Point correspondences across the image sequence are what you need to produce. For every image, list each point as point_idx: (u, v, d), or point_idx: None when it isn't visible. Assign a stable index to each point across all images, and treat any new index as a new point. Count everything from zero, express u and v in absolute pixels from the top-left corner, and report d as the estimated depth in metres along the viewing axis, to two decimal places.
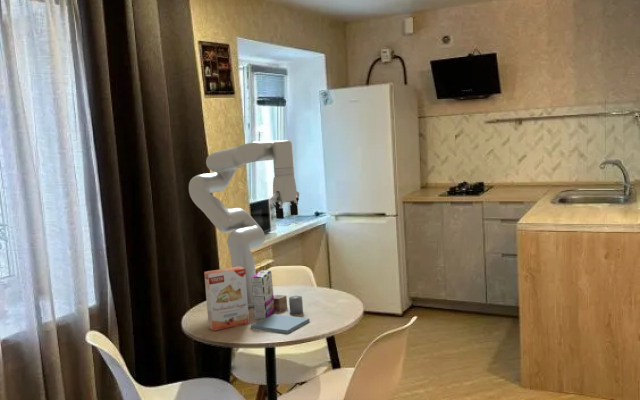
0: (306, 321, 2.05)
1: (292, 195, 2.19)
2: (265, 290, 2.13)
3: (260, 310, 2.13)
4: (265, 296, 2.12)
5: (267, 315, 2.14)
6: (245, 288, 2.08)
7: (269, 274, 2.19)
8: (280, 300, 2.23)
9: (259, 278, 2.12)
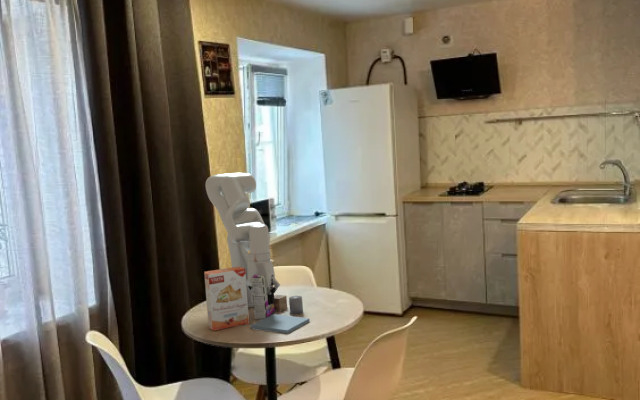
0: (306, 321, 2.05)
1: None
2: (265, 290, 2.13)
3: (260, 310, 2.13)
4: (265, 296, 2.12)
5: (267, 315, 2.14)
6: (245, 288, 2.08)
7: None
8: (280, 300, 2.23)
9: (259, 278, 2.12)
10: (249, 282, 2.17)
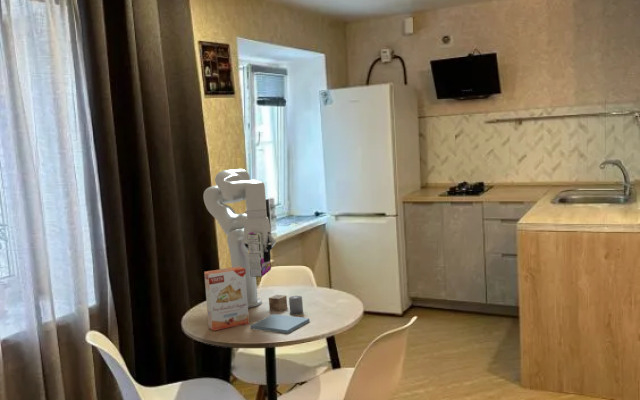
0: (306, 321, 2.05)
1: None
2: (261, 247, 2.12)
3: (255, 267, 2.12)
4: (260, 253, 2.11)
5: (263, 272, 2.13)
6: (245, 288, 2.08)
7: None
8: (280, 300, 2.23)
9: (255, 235, 2.10)
10: (245, 239, 2.16)
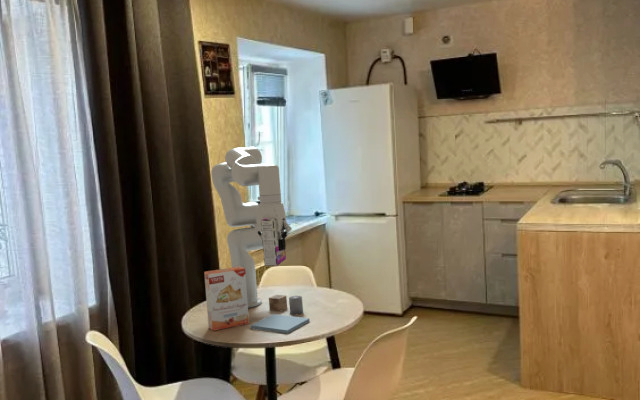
0: (306, 321, 2.05)
1: None
2: (275, 234, 1.97)
3: (270, 255, 1.97)
4: (275, 240, 1.97)
5: (277, 261, 1.98)
6: (245, 288, 2.08)
7: None
8: (280, 300, 2.23)
9: (269, 221, 1.96)
10: (258, 227, 2.02)
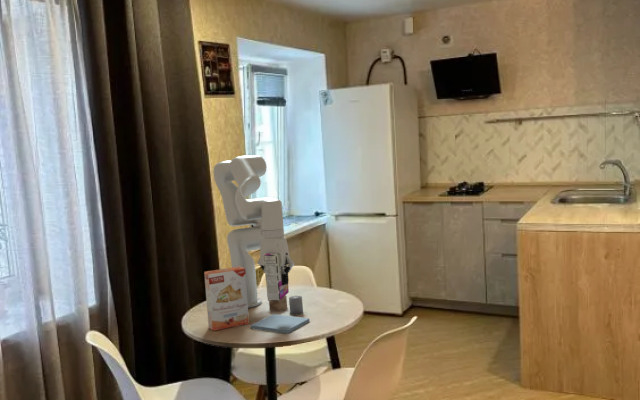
0: (306, 321, 2.05)
1: None
2: (278, 269, 1.98)
3: (273, 290, 1.98)
4: (278, 275, 1.98)
5: (280, 296, 1.99)
6: (245, 288, 2.08)
7: None
8: (280, 300, 2.23)
9: (272, 256, 1.97)
10: (261, 261, 2.03)
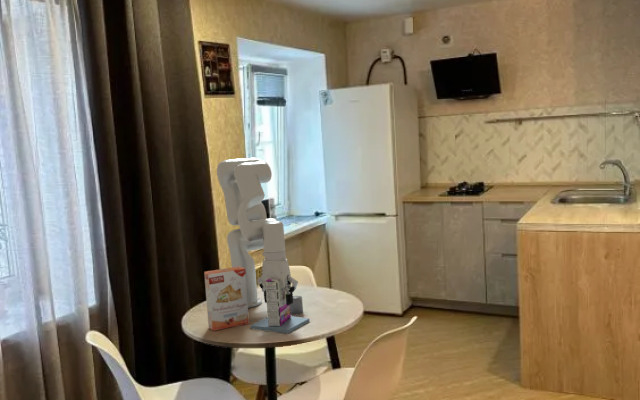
0: (306, 321, 2.05)
1: None
2: (279, 295, 1.99)
3: (274, 316, 1.99)
4: (279, 301, 1.99)
5: (281, 322, 2.00)
6: (245, 288, 2.08)
7: None
8: None
9: (272, 283, 1.98)
10: (263, 282, 2.03)
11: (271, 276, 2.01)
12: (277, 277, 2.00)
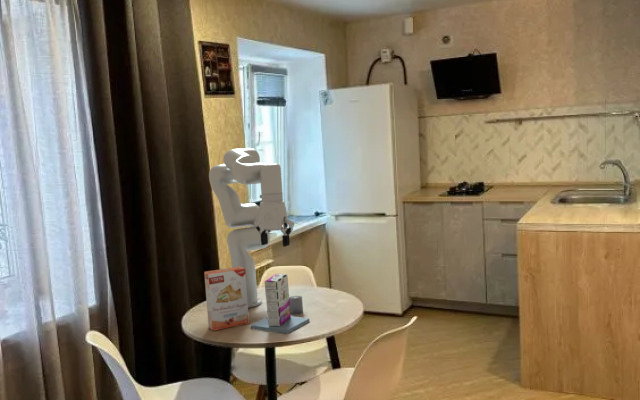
0: (306, 321, 2.05)
1: None
2: (279, 295, 1.99)
3: (273, 316, 1.99)
4: (278, 301, 1.99)
5: (281, 322, 2.00)
6: (245, 288, 2.08)
7: (284, 278, 2.05)
8: None
9: (272, 283, 1.98)
10: (260, 225, 2.05)
11: (268, 218, 2.02)
12: (274, 218, 2.01)
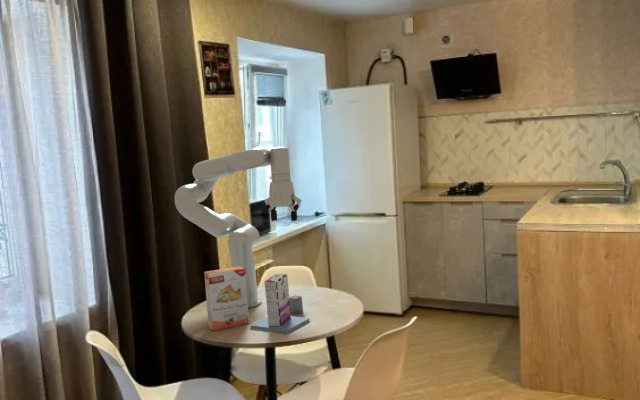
0: (306, 321, 2.05)
1: None
2: (279, 295, 1.99)
3: (273, 316, 1.99)
4: (278, 301, 1.99)
5: (281, 322, 2.00)
6: (245, 288, 2.08)
7: (284, 278, 2.05)
8: None
9: (272, 283, 1.98)
10: (270, 202, 2.28)
11: (277, 196, 2.25)
12: (283, 196, 2.24)
